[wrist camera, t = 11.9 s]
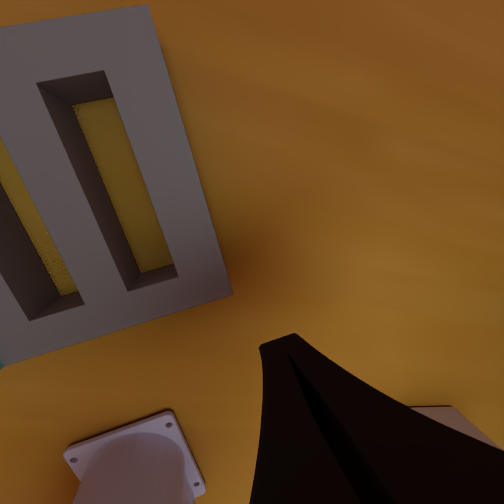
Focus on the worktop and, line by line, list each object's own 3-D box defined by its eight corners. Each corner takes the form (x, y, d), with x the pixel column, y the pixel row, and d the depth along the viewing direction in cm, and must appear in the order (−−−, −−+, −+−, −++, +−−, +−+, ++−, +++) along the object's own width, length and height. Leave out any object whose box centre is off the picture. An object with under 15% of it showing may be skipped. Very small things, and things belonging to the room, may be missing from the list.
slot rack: (227, 276, 17) (233, 296, 14) (-59, 363, 15) (-127, 410, 12) (159, 43, 13) (146, -2, 10) (-250, 115, 11) (-429, 87, 8)
